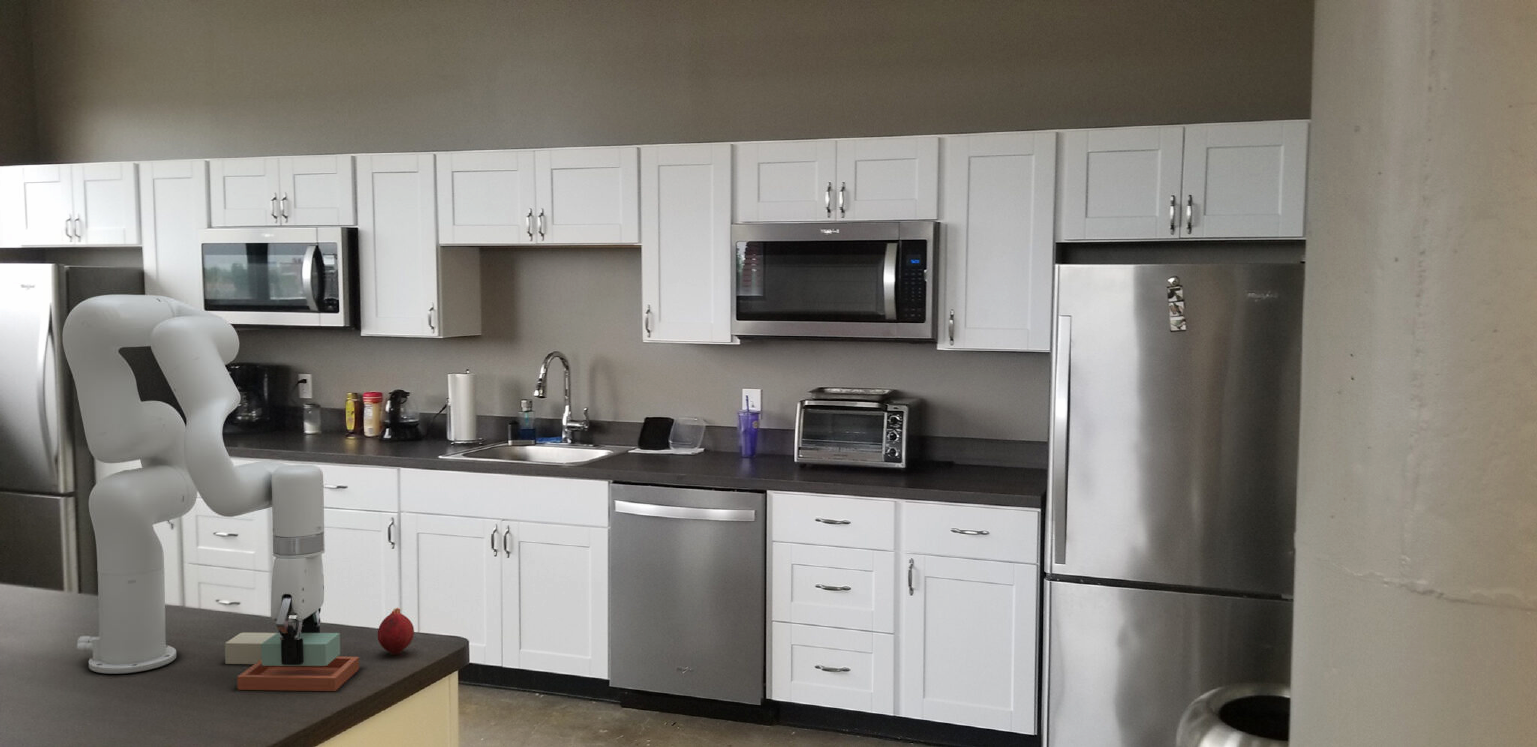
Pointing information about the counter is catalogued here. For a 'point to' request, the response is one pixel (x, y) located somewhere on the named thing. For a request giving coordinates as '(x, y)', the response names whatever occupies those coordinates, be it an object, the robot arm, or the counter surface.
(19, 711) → the counter surface
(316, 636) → the pad base
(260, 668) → the holder
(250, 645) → the pad top
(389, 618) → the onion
